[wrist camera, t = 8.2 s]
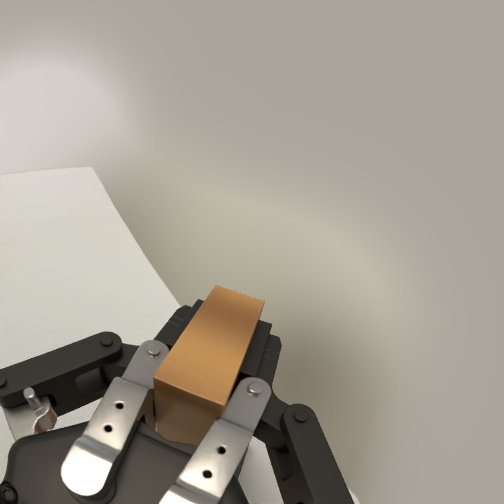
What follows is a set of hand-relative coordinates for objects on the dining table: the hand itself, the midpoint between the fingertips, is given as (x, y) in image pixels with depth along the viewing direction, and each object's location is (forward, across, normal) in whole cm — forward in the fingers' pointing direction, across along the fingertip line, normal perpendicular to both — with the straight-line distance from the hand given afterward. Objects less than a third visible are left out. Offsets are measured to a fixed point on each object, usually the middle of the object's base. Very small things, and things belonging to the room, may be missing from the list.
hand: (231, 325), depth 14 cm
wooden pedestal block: (-3, 0, +8) cm, 9 cm away
